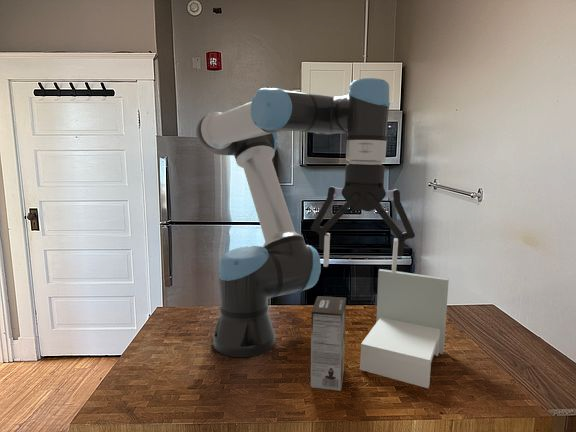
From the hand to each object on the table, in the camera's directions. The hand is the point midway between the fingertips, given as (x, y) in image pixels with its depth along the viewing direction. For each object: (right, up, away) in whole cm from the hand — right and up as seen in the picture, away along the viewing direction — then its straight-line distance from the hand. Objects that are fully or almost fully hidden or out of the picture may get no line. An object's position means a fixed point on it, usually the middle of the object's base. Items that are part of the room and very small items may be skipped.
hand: (359, 268), depth 76 cm
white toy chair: (+11, -22, +8) cm, 26 cm away
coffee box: (-6, -23, +2) cm, 24 cm away
